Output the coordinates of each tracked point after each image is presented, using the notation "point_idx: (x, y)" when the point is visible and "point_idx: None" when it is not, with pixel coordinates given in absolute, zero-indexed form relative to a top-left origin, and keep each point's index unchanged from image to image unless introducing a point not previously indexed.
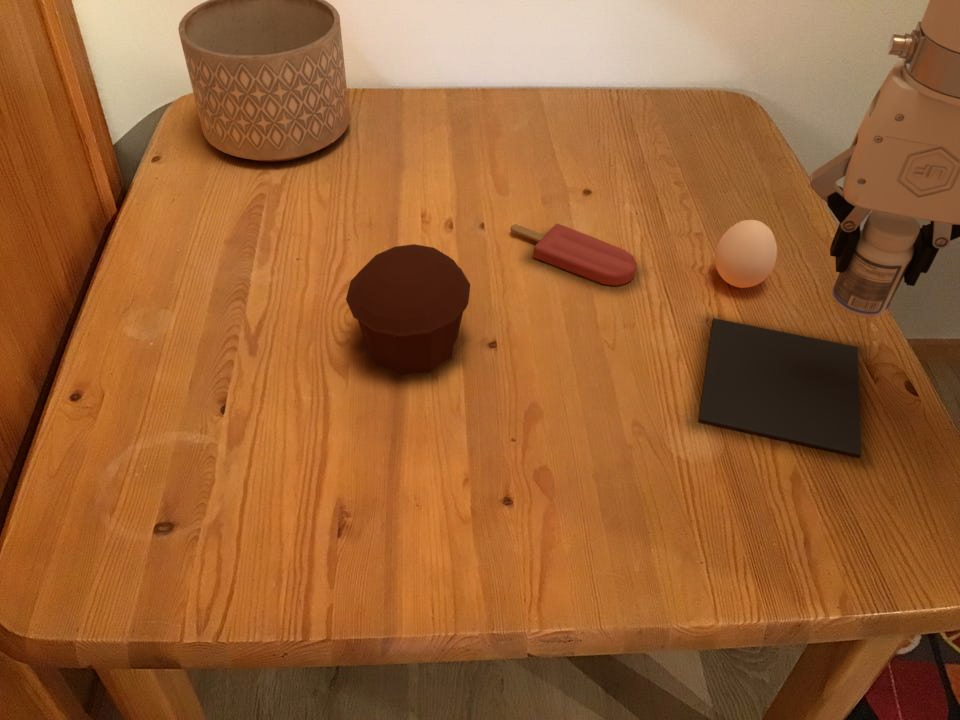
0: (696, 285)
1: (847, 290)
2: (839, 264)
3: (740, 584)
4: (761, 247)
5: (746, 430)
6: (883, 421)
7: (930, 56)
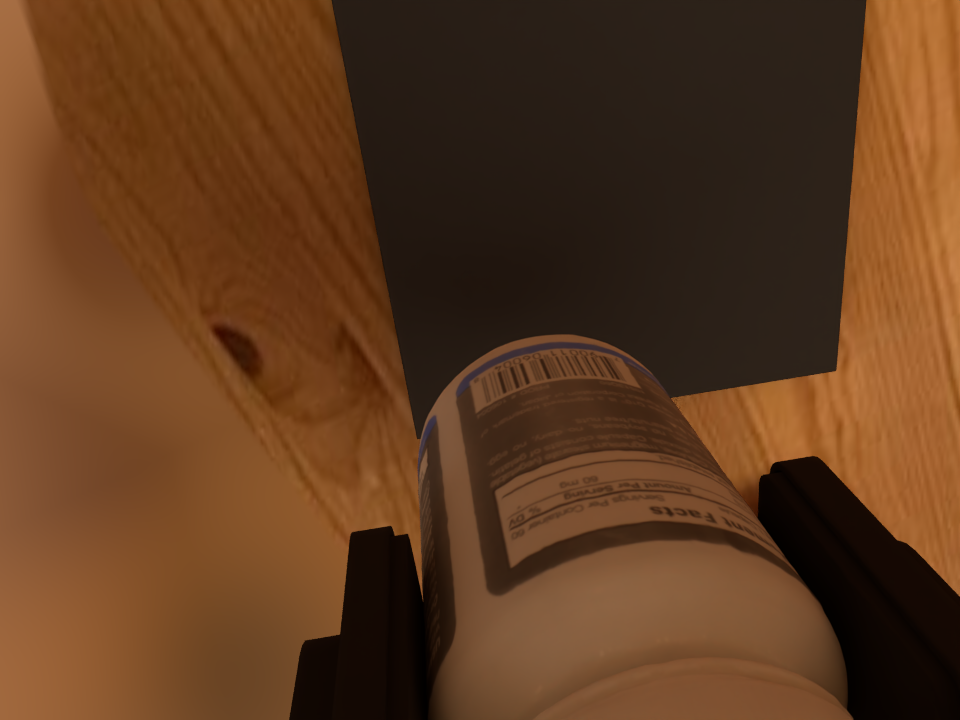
0: (877, 482)
1: (669, 407)
2: (844, 488)
3: None
4: None
5: None
6: (285, 170)
7: None
